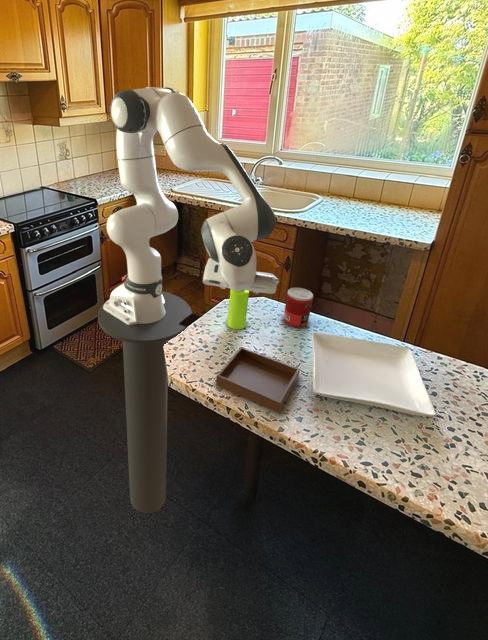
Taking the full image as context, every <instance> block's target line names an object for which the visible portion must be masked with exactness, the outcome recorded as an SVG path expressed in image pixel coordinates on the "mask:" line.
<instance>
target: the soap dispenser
mask: <svg viewBox="0 0 488 640" xmlns="http://www.w3.org/2000/svg"><path fill="white" fill-rule="evenodd" d="M229 289H230V288H229ZM229 291H230V292H229V299H228V311H227V312H228V313H227V322H226V324H227V327H229V328H230V329H233V330H243V329H244V328H245V327H246V324H247V323H246V322H247V314H248V305H249V296H250V291H247V290H242V291H236V290H232V289H230V290H229Z"/></svg>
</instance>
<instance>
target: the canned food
mask: <svg viewBox="0 0 488 640" xmlns="http://www.w3.org/2000/svg"><path fill="white" fill-rule="evenodd" d="M313 300H314V294H313V293H312V291H310V290H308V289H307V288H303V287H290V288H289V289H288V290H287V293H286V300H285V305H284V311H283V321H284V323H285V324H286V325H287V326H289V327H292V328H299V329H300V328H304V327H306V326H307V325H308V323H309V319H310V315H311V310H312V304H313Z"/></svg>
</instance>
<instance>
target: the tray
mask: <svg viewBox="0 0 488 640" xmlns="http://www.w3.org/2000/svg"><path fill="white" fill-rule="evenodd" d="M300 371H301V369H300V368H298V367H296V366H294V365H290V364H288V363H285V362H282V361H280V360H277V359H275V358H272V357H269V356H267V355H264V354H262V353H258V352H256V351H253V350H251V349H248V348H245V347H243V346H240V347H239V348H238V350H237V351H236V352H235V353H234V355H232V356H231V358H230V359H229V360H228V361H227V363H226V364H225V365H224V366H223V368H222V369H220V371H219V372H218V373H217V375H216V380H215V385H216V386H217V387H219V388H220V389H221V388H222V389H224V390H226V391H228V392H230V393H233V394H235V395H237V396H239V397H241V398H244V399H246V400H248V401H251V402H252V403H255V404H257V405H259V406H262V407H264V408H266V409H268V410H270V411H272V412H274V413H277V414H279V413H281V412H280V411H281V410H282V408H283V407H284V405H285V403H286V401H287V399H288V397H289V396H290V394H291V392H292V390H293V389H294V387H295V385H296V383H297V381H298V380H299V376H300Z"/></svg>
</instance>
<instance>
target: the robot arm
mask: <svg viewBox="0 0 488 640" xmlns="http://www.w3.org/2000/svg"><path fill="white" fill-rule="evenodd" d="M109 113H110V114H109V115H110V119H111V121H112V123H113V125H114V127H115V128H116V136H115V137H116V138H115V139H116V140H115V144H116V145H115V146H116V147H115V148H116V159H117V166H118V172H119V173H118V174H119V182H120V184H121V187H122V188H123V189H124V190H125V191H126V192H129V193H132V195H133V196H134V199H135V201H136V205H132V206H128V207H125V208H121V209H119V210H118V211H116V212H114V213H112V214H111V215H109V216H108V218H107V220H106V233H107V235H108V237H109V239H110V240H111V241H112V242H113V243H114V244H116V245H118V246H119V247H120V248H121V249H122V250H123V252H124V254H125V257H126V266H127V267H126V268H127V273H126V274H125V275H124V276H122V277H121V281H122V282H121V284H120V285H119V286H116V287H115V288H114V289H113V290H112V291H111V293H110V295H109V299H107V300H108V301H107V300H106V301H107V302H106V301H105V302H106V303H105V302H104V303H105V304H104V303H103V304H104V306H103V309H104V310H105V311H107V312H108V313H110V314H111V315H113V316H115V317H116V318H118V319H119V320H121V321H123V322H124V323H126V324H127V325H135V324H148V323H154V322H157V321H159V320H161V319H162V318H163V317H164V316H165V313H166V311H165V308H164V304H163V303H164V299H163V296H162V291H163V275H162V256H161V253H160V252H159V251H158V250H157V249H156V248H153V247H151V246H150V240H151V238H153V237H156V236H159V235H162V234H165V233H167V232H169V231H170V230H171V229H173V228H174V227H176V226H177V223H178V220H179V211H178V209H177V207H176V205H175V204H174V202H172V201H171V200H170V199H168V198H167V197H166V195H165V194H164V192H163V190H162V188H161V186H160V183H159V179H158V173H157V172H158V171H157V165H156V156H155V149H154V148H155V147H154V137H155V135H156V133H159V135H160V138H161V140H162V143H163V146H164V148H165V150H166V153H167V154H168V157H169V159H170V161H171V162H172V164H174V165H175V167H177V168H178V169H180V170H182V171H187V172H190V173H191V172H192V173H193V172H194V173H199V172H213V173H214V172H215V173H220V174H223V175H224V176H225V177H227V179H228V180H229V182H230V183H231V185H232V186H233V188H234V189H235V191H236V193H237V194H238V195H239V197H240V199H241V200H242V203H241V204H239V205H237V206H234V207H232V208H229V209H227V210H225V211H221V212H219V213H217V214H214V215H212V216H210V217H208V218H206V219H205V220H204V221H203V223H202V225H201V230H200V235H201V237H202V241H203V245H204V248H205V251H206V253H207V255H208V257H209V258H208V260H207V263H206V265H205V266H204V271H203V275H202V283H203V285H206V286H214V287H219V288H220V289H222V290H226V289H227V288H228V289H232V290H236V291H242V290H247V291H249V292H252V293H253V294H255V295H256V294H257V295H258V294H259V293H261V294H262V293H263V294H268V295H269V294H270V295H273V294H276V292H277V285H278V284H279V283H280V278H278V277H276V275H275V274H273V273H270V272H263V271H262V272H261V271H257V262H258V261H257V260H258V259H257V253H256V249H255V246H254V245H253V243H252V242H255V241H259V240H263V239H266V238H268V237H270V236H271V235H272V233H273V231H274V229H275V228H276V225H277V218H276V215H275V212H274V210H273V208H272V207H271V206H270V204H269V203H268V201H267V200H266V199H265V198H264V196H263V195H262V194H261V192H260V191H259V189H258V188H257V187H256V185H255V184H254V182H253V180H252V179H251V177H250V176H249V174H248V172H247V171H246V169H245V168H244V166H243V165H242V163H241V162H240V160H239V159H238V157H237V156H236V154H235V153H234V151H232V149H231V148H230V146H229V145H228V144H226V143H225V142H218V140H215V138H213V137H212V136H211V135H210V134H209V133H208V131H207V129H206V127H205V124H204V122H203V120H202V118H201V116H200V114H199V112H198V110H197V109H196V107H195V105H194V103H192V101H191V99H190V98H189V97H188V96H187V95H186V94H185V93H182V92H180V91H179V90H177V89H176V88H172V87H167V86H165V87H158V86H157V87H156V86H146V87H142V88H141V87H140V88H134V89H131V88H130V89H123V90H121V91H119V92H117V93H116V94H114V96H113V97H112V99H111V102H110V108H109Z"/></svg>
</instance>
